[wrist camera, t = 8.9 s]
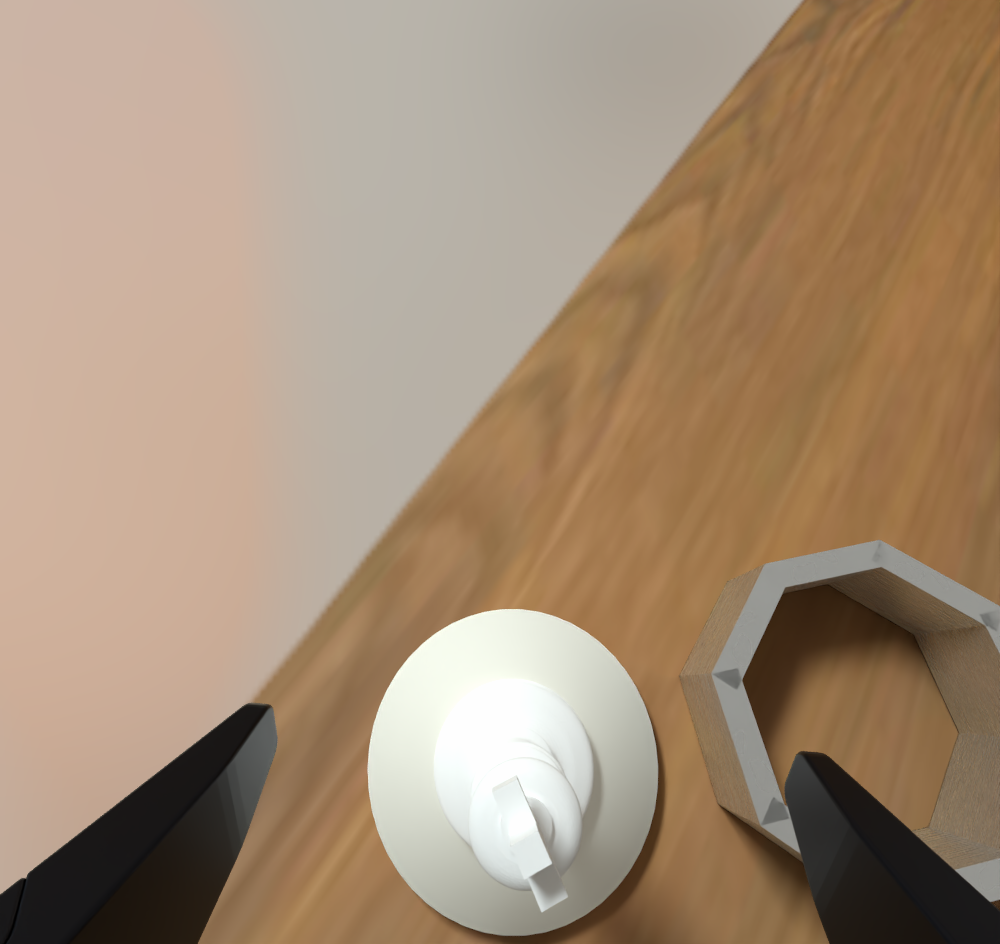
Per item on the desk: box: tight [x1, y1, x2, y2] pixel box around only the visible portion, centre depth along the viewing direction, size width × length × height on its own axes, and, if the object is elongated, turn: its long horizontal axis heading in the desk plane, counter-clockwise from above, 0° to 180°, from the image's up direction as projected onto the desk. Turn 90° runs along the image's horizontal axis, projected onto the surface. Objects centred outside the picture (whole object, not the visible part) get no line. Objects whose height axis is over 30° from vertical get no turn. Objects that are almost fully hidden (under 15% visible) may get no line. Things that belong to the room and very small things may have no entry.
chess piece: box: [434, 679, 594, 912], centre depth 12 cm, size 5×5×10 cm
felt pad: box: [368, 609, 658, 936], centre depth 17 cm, size 9×9×1 cm
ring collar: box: [679, 540, 1000, 902], centre depth 17 cm, size 9×9×3 cm
